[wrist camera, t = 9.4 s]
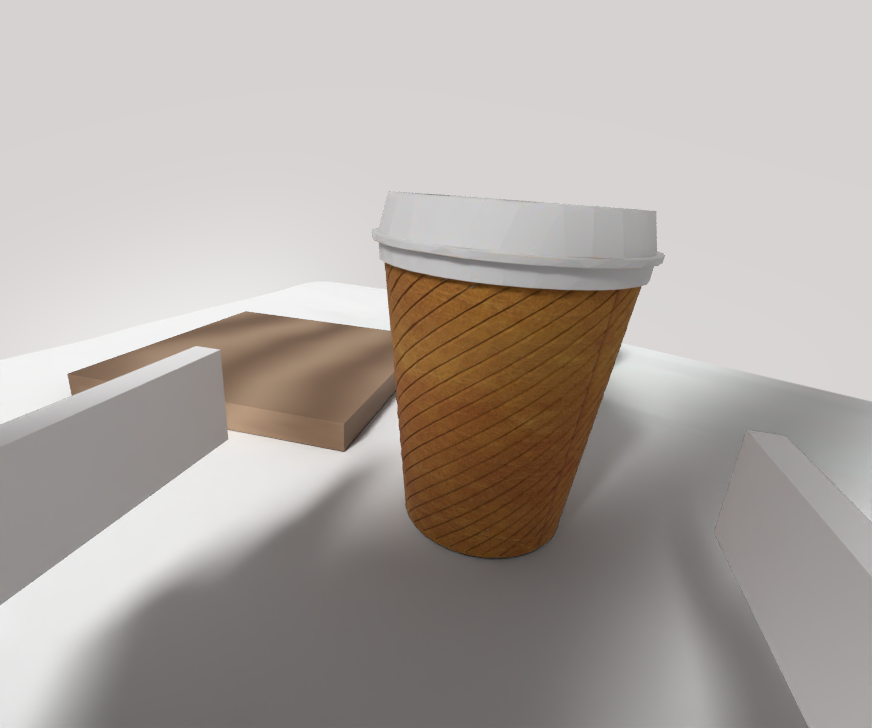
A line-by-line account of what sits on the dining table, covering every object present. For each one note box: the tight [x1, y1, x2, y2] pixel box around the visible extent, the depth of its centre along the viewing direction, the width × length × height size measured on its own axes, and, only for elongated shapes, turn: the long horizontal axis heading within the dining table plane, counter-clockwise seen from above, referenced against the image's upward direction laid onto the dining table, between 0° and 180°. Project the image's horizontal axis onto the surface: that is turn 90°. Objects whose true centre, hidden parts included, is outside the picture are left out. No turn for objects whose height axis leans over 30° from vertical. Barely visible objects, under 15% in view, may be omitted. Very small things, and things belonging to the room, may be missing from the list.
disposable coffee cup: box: [372, 191, 665, 558], centre depth 18 cm, size 10×10×12 cm
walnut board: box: [68, 312, 396, 451], centre depth 32 cm, size 16×16×2 cm
